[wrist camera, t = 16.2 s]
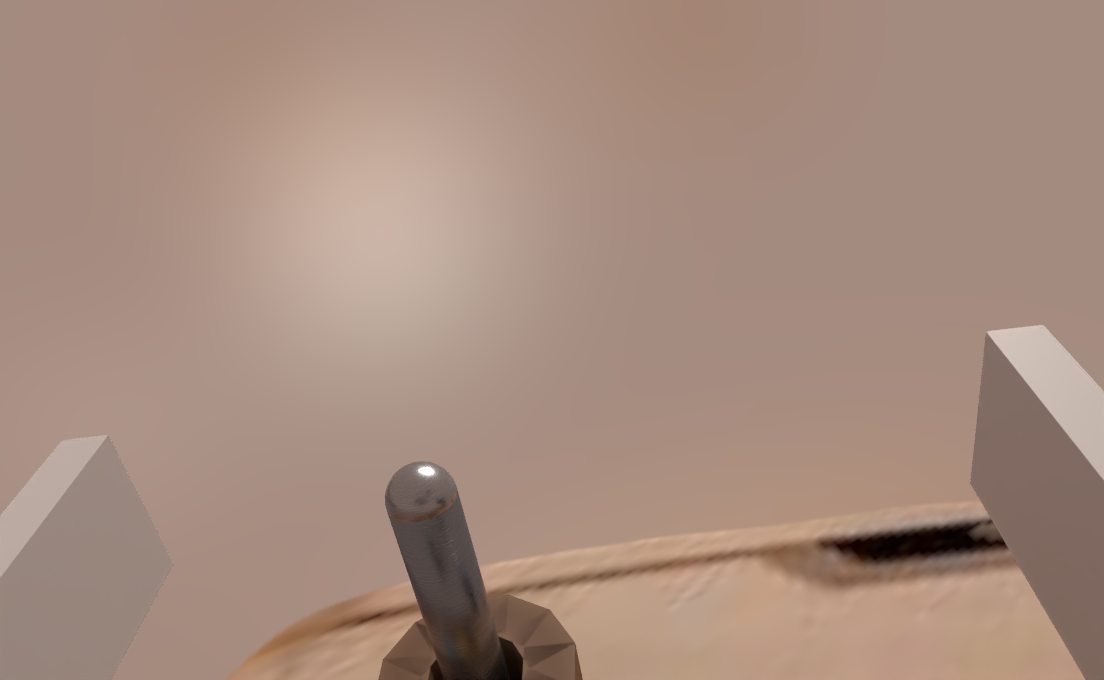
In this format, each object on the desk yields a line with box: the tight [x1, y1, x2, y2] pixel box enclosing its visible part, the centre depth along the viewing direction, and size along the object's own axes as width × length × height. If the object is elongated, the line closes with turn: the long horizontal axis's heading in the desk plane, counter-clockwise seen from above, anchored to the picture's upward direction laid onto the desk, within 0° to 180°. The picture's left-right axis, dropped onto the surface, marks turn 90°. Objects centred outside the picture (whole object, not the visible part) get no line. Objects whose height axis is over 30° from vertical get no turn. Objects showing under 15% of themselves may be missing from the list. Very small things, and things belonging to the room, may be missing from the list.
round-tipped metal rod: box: [385, 461, 510, 680], centre depth 41 cm, size 3×3×18 cm
